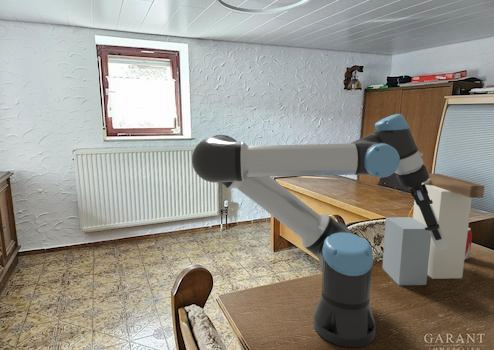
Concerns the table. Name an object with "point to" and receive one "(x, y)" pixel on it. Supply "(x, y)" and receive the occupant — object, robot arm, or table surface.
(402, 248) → the tall pale gray pillar
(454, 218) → the tall cream rectangular block
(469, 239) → the soda can
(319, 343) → the table surface
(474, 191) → the brown wooden beam
